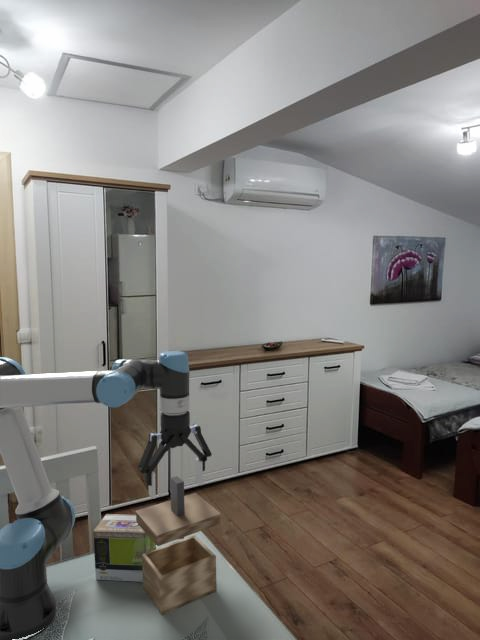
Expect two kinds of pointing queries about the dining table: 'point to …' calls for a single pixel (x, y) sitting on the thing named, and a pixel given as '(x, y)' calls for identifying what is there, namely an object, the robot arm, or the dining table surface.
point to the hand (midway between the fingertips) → (176, 489)
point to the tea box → (120, 548)
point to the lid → (177, 515)
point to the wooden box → (178, 574)
